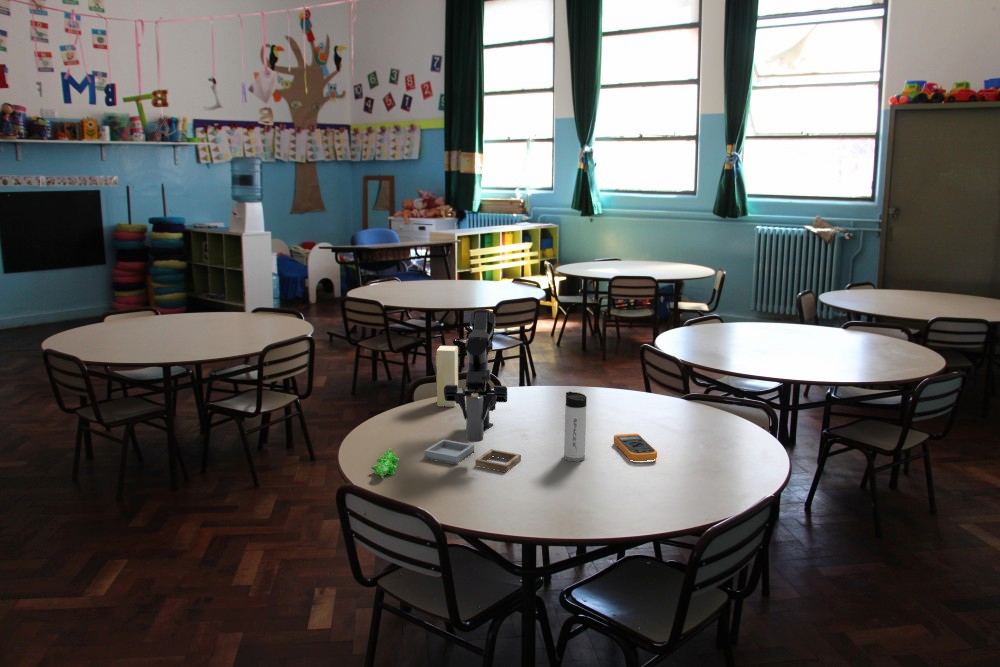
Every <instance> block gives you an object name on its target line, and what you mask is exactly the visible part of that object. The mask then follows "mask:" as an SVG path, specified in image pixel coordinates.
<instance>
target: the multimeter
mask: <svg viewBox="0 0 1000 667" xmlns="http://www.w3.org/2000/svg"><path fill="white" fill-rule="evenodd" d="M613 443H614V445H615V446H616V445H617V446H618V447H619V448H620V449H621V450H622V451H623V452H624V453H623V452H622V451H621V450H620V449H619V448H618V447H617V446H616V447H617V448H618V449H619V450H620V451H621V452H622V453H623V455H625V456H626V458H627V459H628V458H629V459H630V460H633V461H647V460H654V459H656V458H657V459H658V451H657V450H656V449H655V448H654V447H652V445H651V444H650V443H649V442H648V441H646V440H645V439H644V438H643V437H642V436H641V435H640V433H621V434H615V435H614V436H613ZM629 459H628V460H629ZM657 459H656V460H657ZM630 460H629V461H630Z"/></svg>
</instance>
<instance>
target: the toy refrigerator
mask: <svg viewBox="0 0 1000 667" xmlns="http://www.w3.org/2000/svg"><path fill="white" fill-rule="evenodd" d="M458 350H459V347H458V345H440V346H439V347H438V348H437V349H436V355H435V366H436V375H435V376H436V379H435V380H436V396H437V398H436V399H437V400H436V401H437V403H436V404H437V406H438V407H444V406H445V407H448V408H449V407H450V408H451V407H453V408H454V407H456V406H457V403H456V402H455V401H446V400H445V397H444V387H445V386H446V385H458V386H459V352H458Z"/></svg>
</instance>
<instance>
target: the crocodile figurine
mask: <svg viewBox="0 0 1000 667" xmlns="http://www.w3.org/2000/svg"><path fill="white" fill-rule="evenodd" d="M392 451H393V448H392V447H390V448H388V449H387V451H386V452H383V455H380V457H378V458H376V462H377V463H376V464H375V465H373V466H372V468H373V469H374V471H375V472H374V474H375V475H379V476H380V479H385V476H386V475H387V474H388V475H395V474H396V472H395V470H396V469H397V467H398V464H397V463H398V462H399V461H400V458H398V457H397V455H396V454H395V453H394V452H392Z"/></svg>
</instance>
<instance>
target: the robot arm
mask: <svg viewBox="0 0 1000 667" xmlns="http://www.w3.org/2000/svg"><path fill="white" fill-rule="evenodd" d="M469 316H470V317H469V325H470V327H472V329H471V330H472V332H470V333H468V339H466V340H465V345H464V351H465V352H466V354H467V355H466V356H467V360H468V364H467V371H466V377H465V387H466V389H465V388H459V384H458V385H446V386H445V387H444V397H445V400H446V401H455V402H456V403H457V404H458V405H459V406H460V408H461V411H462V416H463V418H464V420H465V421H466V396H468V395H471V393H478V395H482V396H483V431H486V430H488V429H490V428H491V427H493V426H494V423H492V422H490V412H494V411H495V410H496V405H497V403H508V387H507V386H506V385H494V386H493V389H492V387H491V385H490V383H489V382H490V381H491V369H488V366H489V354H490V353H491V351H493V346H494V343H492V339H490V338H491V337H492V336H493V334H494V328H495V327H496V314H495V313H494V312H491V311H490V310H489V309H485V308H482V309H479V308H478V309H474V311H473V312H471V313H470V314H469ZM457 404H456V405H457Z"/></svg>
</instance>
